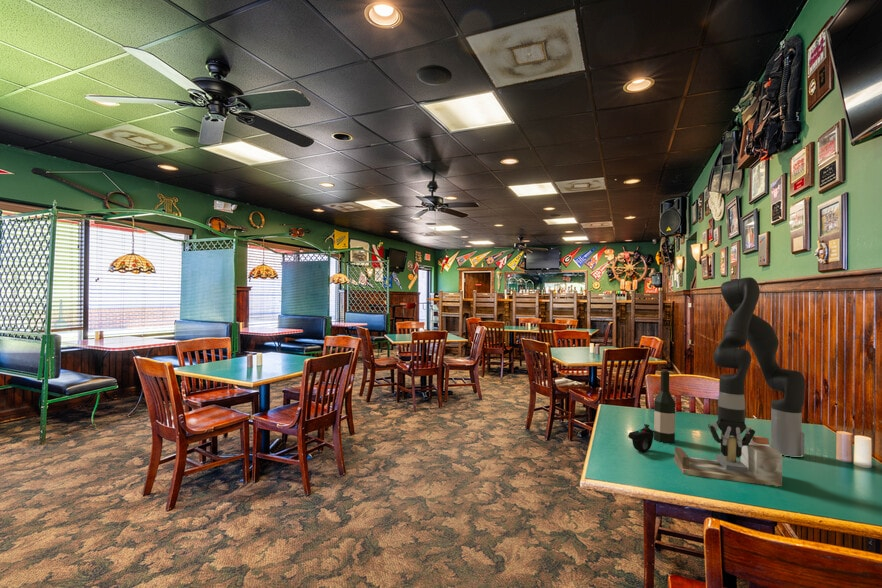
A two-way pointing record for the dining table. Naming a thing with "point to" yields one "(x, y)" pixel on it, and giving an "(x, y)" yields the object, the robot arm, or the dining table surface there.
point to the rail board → (755, 457)
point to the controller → (642, 438)
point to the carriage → (731, 457)
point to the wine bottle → (664, 412)
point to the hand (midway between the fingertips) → (730, 455)
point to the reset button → (760, 440)
